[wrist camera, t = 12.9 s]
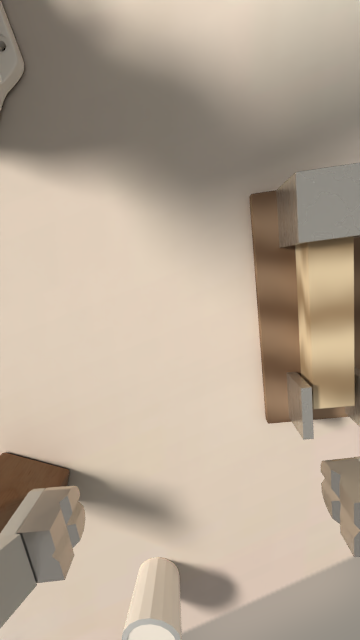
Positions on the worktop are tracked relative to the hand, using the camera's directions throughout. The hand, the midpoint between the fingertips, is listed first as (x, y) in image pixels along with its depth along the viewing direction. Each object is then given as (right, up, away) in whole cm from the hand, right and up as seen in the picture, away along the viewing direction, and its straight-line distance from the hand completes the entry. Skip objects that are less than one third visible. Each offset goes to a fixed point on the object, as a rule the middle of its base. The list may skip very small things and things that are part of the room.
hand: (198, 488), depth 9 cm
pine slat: (+14, +7, +19) cm, 25 cm away
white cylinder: (-4, -29, +28) cm, 41 cm away
